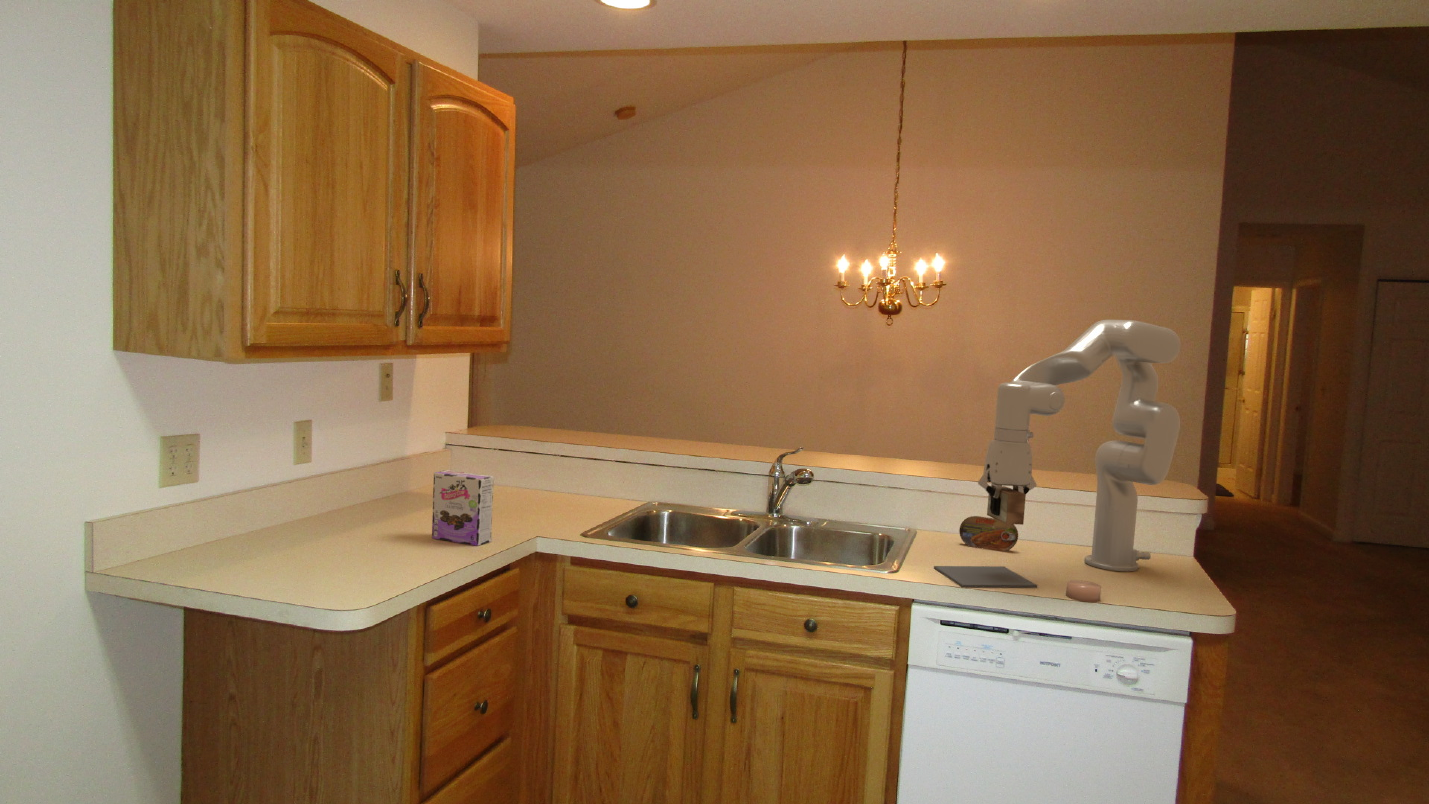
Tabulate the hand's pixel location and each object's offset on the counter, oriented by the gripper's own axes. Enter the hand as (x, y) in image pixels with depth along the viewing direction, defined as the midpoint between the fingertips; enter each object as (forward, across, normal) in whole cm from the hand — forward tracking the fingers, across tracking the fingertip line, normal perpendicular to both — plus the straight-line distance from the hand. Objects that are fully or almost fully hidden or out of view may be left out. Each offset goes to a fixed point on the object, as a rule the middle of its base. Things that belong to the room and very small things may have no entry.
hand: (1004, 513), depth 215 cm
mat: (+15, +4, 0) cm, 16 cm away
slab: (+1, 0, 0) cm, 1 cm away
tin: (+15, -11, -29) cm, 35 cm away
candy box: (+16, +125, -31) cm, 130 cm away
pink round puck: (+15, -12, +15) cm, 25 cm away
